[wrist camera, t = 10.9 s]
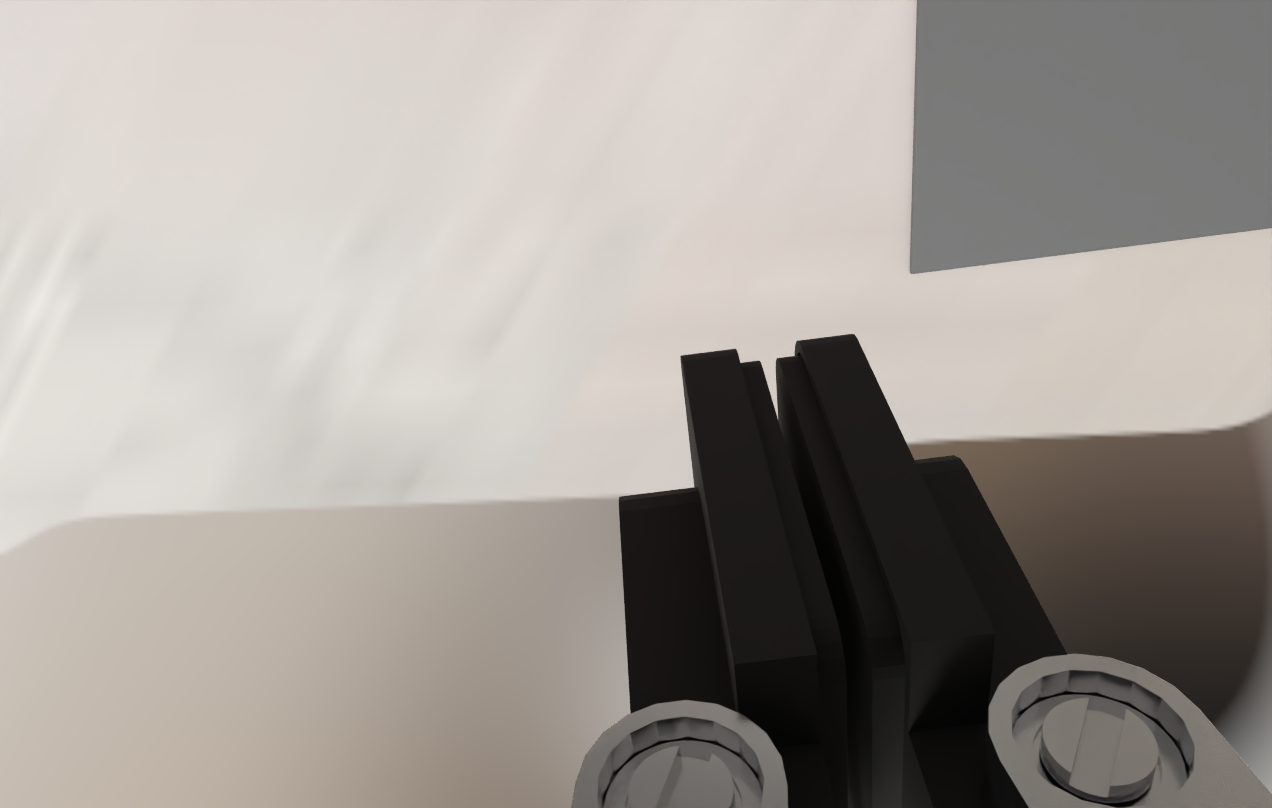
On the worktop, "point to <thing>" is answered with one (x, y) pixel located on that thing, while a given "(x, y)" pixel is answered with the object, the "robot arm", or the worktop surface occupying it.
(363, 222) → the worktop surface
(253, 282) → the worktop surface
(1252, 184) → the t mat
